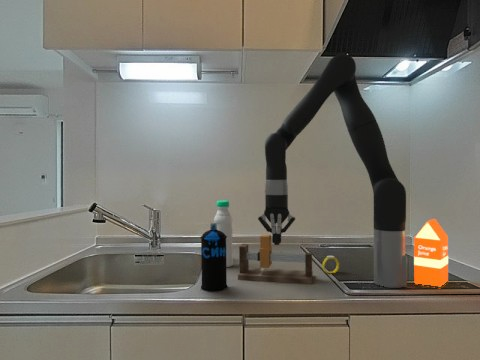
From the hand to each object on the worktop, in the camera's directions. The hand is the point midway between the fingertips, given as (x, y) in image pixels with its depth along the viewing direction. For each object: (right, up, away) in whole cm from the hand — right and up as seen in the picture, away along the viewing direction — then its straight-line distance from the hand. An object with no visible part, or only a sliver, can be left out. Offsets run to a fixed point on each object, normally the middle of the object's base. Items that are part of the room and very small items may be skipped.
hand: (276, 244), depth 126 cm
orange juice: (+48, -11, -8) cm, 50 cm away
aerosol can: (-20, -12, -10) cm, 26 cm away
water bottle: (-19, -11, +17) cm, 28 cm away
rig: (0, -11, 0) cm, 11 cm away
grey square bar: (0, -6, 0) cm, 6 cm away
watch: (+20, -11, +6) cm, 23 cm away
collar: (-4, -7, +1) cm, 8 cm away
